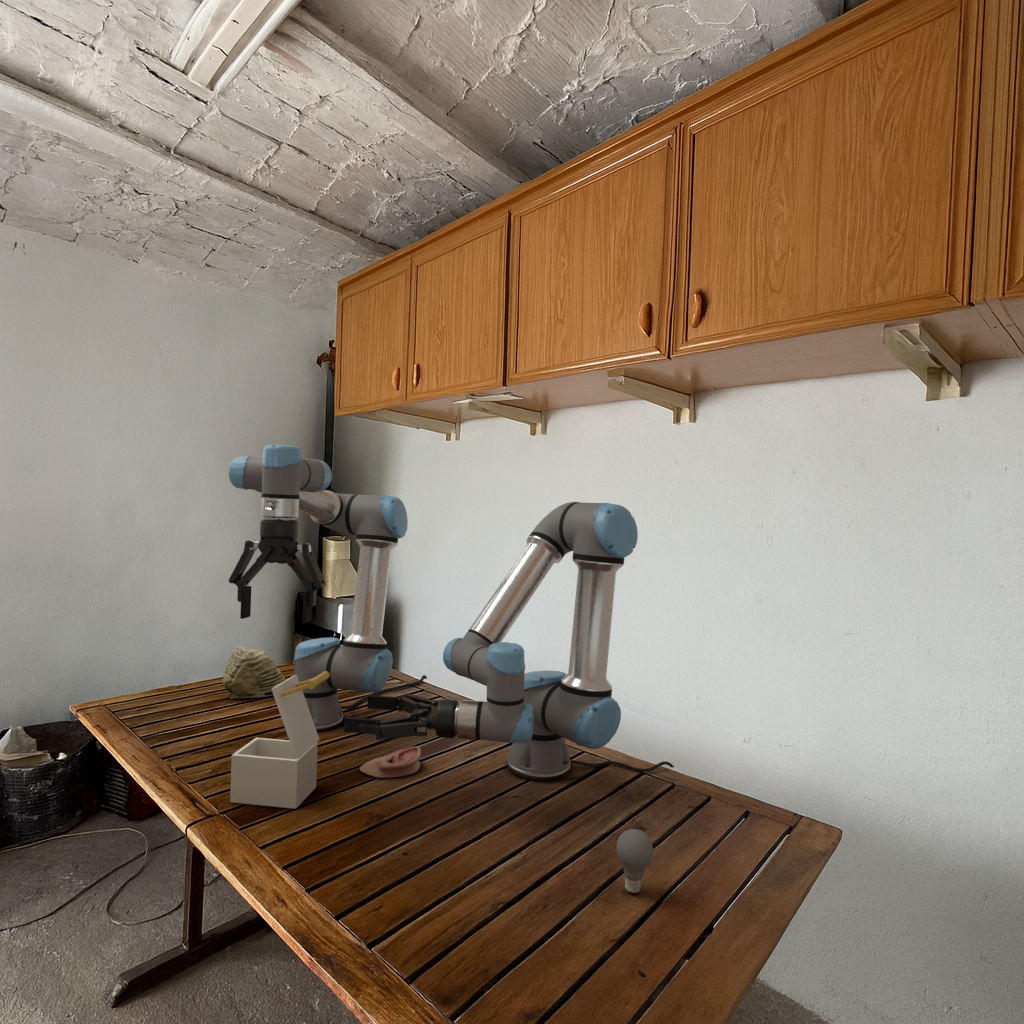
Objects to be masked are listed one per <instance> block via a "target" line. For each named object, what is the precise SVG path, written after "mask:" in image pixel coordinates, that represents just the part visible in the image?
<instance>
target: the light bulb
mask: <svg viewBox="0 0 1024 1024" xmlns="http://www.w3.org/2000/svg"><path fill="white" fill-rule="evenodd" d="M615 849H616V854H617V857H618V859H619V861H620V863H621V865H622V867H623V873H624V874H623V875H624V876H625V878H624V888H625V890H627V891H628V892H630V893H634V894H635V893H639V892H640V891H641V889H642V887H641V886H642V879H643V877H644V875H645V871H646V868H647V867H648V866H649V864H650V863H651V861H652V859H653V855H654V847H653V843H652V841H651V838H649V836H648V835H647V834H646V833H645V832H643V831H642V830H641V829H636V828H629V829H627V830H625V831H623V832H622V833H621V834H620V835H619V837H618V839H617V841H616V847H615Z"/></svg>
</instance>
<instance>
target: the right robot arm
mask: <svg viewBox="0 0 1024 1024" xmlns="http://www.w3.org/2000/svg"><path fill="white" fill-rule="evenodd" d="M638 533H639V532H638V526H637V523H636V519H635V518H634V516H633V515H632V513H631V511H630V510H629V509H627V507H625V506H623V505H621V504H615V503H609V502H580V501H570V502H565V503H563V504H561V505H559V506H557V507H555V508H554V509H553V510H551V511H549V513H548V514H547V515H545V516H544V517H543V518H542V519H541V520H540V521H539V523H537V524H536V526H535V527H534V529H532V531H531V532H530V534H529V535H528V537H527V538H526V546H525V548H524V550H523V551H522V552H521V554H520V555H519V557H518V558H517V560H516V561H515V563H514V564H513V565H512V567H511V568H510V569H509V571H508V573H507V574H506V575H505V577H504V578H503V580H502V581H501V582H500V584H499V585H498V587H497V588H496V590H495V591H494V593H493V594H492V595H491V596H490V598H489V600H488V601H487V603H486V604H485V605H484V607H483V608H482V610H481V611H480V613H479V614H478V616H477V617H476V619H475V620H474V621H473V623H472V624H471V625H470V627H469V628H468V630H467V632H466V633H465V634H464V636H463V637H456V638H453V639H451V640H450V641H449V642H448V643H446V645H445V647H444V649H443V653H442V661H443V665H444V666H445V667H446V669H448V670H449V671H451V672H452V673H455V674H456V676H460V677H463V678H466V679H469V680H471V681H474V682H476V683H478V684H481V685H483V686H485V687H486V701H482V700H481V701H480V700H469V699H461V700H460V701H458V700H457V699H447V698H442V699H440V700H437V699H431V698H427V697H422V696H419V695H414V694H410V693H404V694H403V695H400V696H390V695H389V696H387V695H375V696H374V695H370V694H368V699H367V707H366V708H367V709H369V710H382V711H383V710H385V711H397V710H398V712H405V713H407V715H406V716H400V717H395V718H390V719H389V718H388V719H384V720H381V719H380V718H379V717H376V718H366V717H365V718H364V717H349V716H345V717H343V732H344V733H351V734H352V733H353V734H365V735H374V736H375V740H377V741H381V740H382V741H383V740H391V739H392V740H393V739H400V738H409V737H426V736H428V730H434V731H435V734H436V736H437V737H438V738H442V739H455V738H456V737H457V738H458V739H459V740H468V741H469V742H471V743H472V742H474V741H475V740H476V741H487V742H497V743H498V742H500V743H507V744H511V747H510V749H509V753H508V755H507V769H508V770H509V771H510V772H511V773H512V774H513V775H515V776H517V777H520V778H521V779H526V780H529V781H537V782H549V781H555V780H559V779H563V778H565V777H566V776H568V775H569V774H570V772H571V764H574V765H580V766H585V767H591V768H595V767H596V768H598V767H603V766H604V767H605V766H609V765H610V766H611V765H613V766H620V767H622V768H623V767H624V768H626V769H628V770H632V771H635V772H641V773H648V772H652V771H655V770H656V769H658V768H660V767H661V766H665V765H666V766H669V767H670V768H674V767H675V766H674V764H673V763H671V762H669V761H667V760H665V761H660V762H659V763H657V764H655V765H653V766H650V767H647V768H641V767H640V768H639V767H635V766H633V765H629V764H626V763H625V762H620V761H611V760H610V761H603V762H602V761H601V762H597V763H592V762H591V763H589V762H585V761H580V760H574V759H571V758H570V754H569V750H568V746H567V742H566V740H567V741H570V742H572V743H574V744H575V745H577V746H580V747H584V748H587V749H591V750H597V749H601V748H603V747H605V746H606V745H607V744H608V743H610V742H611V740H612V739H613V737H615V735H616V734H617V731H618V730H619V727H620V724H621V720H622V719H621V718H622V710H621V706H620V705H619V703H618V701H616V699H615V698H613V697H612V696H613V685H612V683H611V682H610V681H609V680H608V678H607V676H608V675H607V674H608V664H609V655H610V654H609V653H610V643H611V633H612V632H611V631H612V623H613V612H614V611H613V610H614V600H615V589H616V580H617V579H616V578H617V572H618V571H619V570H620V569H621V568H623V566H625V558H626V557H629V556H630V555H631V554H632V553H633V552H634V549H635V548H636V547H637V544H638V539H639V537H638V536H639V535H638ZM571 552H572V562H573V563H574V564H575V565H576V567H577V578H576V589H575V599H574V610H573V618H572V619H573V620H572V621H573V622H572V631H571V639H570V640H571V641H570V653H569V660H568V661H569V663H568V672H567V673H565V672H563V671H559V670H536V671H535V670H534V671H529V672H525V671H526V663H525V649H524V647H523V646H522V645H520V644H518V643H515V642H509V641H504V639H505V637H506V636H507V635H508V633H509V631H510V630H511V628H512V627H513V626H514V624H515V622H516V621H517V619H518V618H519V617H520V615H521V613H522V612H523V610H524V609H525V608H526V606H527V604H528V603H529V601H530V600H531V599H532V597H533V595H534V594H535V593H536V591H537V589H538V588H539V586H540V585H541V583H542V582H543V581H544V580H545V578H546V575H548V573H549V572H550V571H551V569H552V567H553V566H554V565H555V564H559V563H560V562H561V561H562V560H563V558H564V557H565V556H566V555H567V554H568V553H571ZM658 766H659V767H658Z"/></svg>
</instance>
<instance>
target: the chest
mask: <svg viewBox="0 0 1024 1024" xmlns="http://www.w3.org/2000/svg"><path fill="white" fill-rule="evenodd" d="M318 745H319V744H318V742H317V743H316V744H315V745H313V746H312V747H311V748H310V749H309V750H308V751H307V752H306V753H305V754H303V755H302V756H301V757H300V758H298V759H296V758H295V755H294V752H293V749H292V746H291V744H290V741H289V739H280V738H278V739H277V738H266V737H255V738H253V739H252V740H251V741H249V742H248V743H247V744H245V745H244V746H242V747H241V748H239V749H238V750H237V751H235V752H234V753H232V754H231V762H230V763H231V766H230V792H229V793H230V796H229V803H235V804H244V805H253V806H265V807H274V808H284V809H292V810H293V809H295V810H296V809H297V808H298V807H299V806H300V805H301V804H302V803H303V802H304V801H305V800H306V799H307V798H308V796H310V795H311V793H312V792H313V791H314V790H315V789H316V788H317V774H318V773H317V772H318V750H319V749H318V747H319V746H318Z"/></svg>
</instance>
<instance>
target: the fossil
mask: <svg viewBox="0 0 1024 1024" xmlns="http://www.w3.org/2000/svg"><path fill="white" fill-rule="evenodd" d="M222 676H223V677H222V685H223V687H224V688H225V690H226V691H228V693H229V698H230V699H250V698H264V697H271V696H274V695H273V692H272V688H274V687H275V686H277V685H279V684H280V683H282V682H284V681H285V680H286V678H285V676H284V674H283V673H282V672H281V669H279V668H278V667H277V665H276V663H275V662H274V660H273V659H272V658H271V657H270V656H269V655H268V654H267V653H266V652H265V650H264V649H263V648H260V647H258V648H251V647H247V646H246V647H245V646H238V647H237V648H236V649H235V650H233V651H232V653H231V656H230V657H229V659H228V660H227V663H226V666H225V668H224V671H223V675H222Z"/></svg>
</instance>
